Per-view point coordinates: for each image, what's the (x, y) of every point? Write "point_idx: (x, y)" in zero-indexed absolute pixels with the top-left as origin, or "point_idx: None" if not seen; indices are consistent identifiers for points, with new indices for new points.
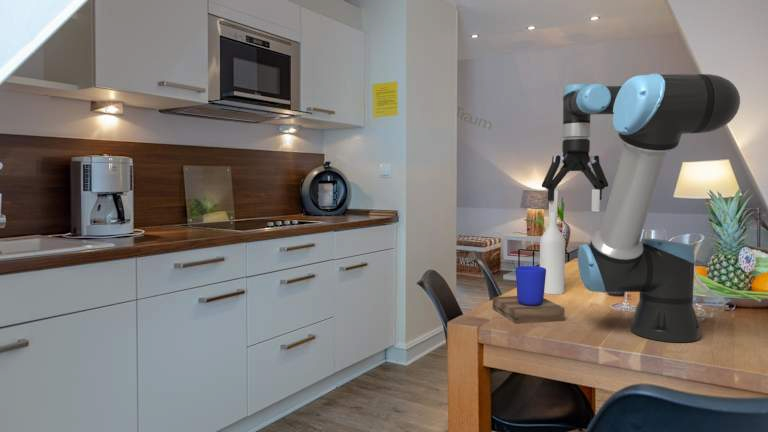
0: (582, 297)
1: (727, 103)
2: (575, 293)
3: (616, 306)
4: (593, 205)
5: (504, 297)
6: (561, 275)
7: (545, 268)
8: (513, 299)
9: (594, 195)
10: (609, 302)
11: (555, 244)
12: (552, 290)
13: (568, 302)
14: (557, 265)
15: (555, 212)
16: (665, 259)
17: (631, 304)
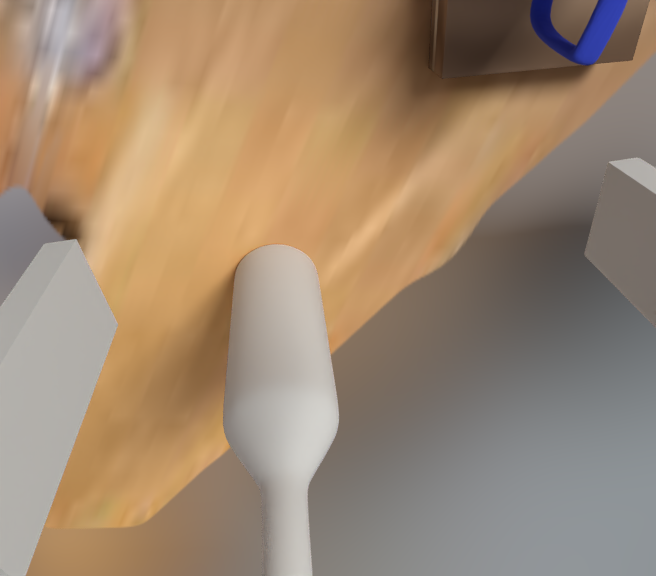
0: (194, 197)
1: None
2: (199, 256)
3: (101, 32)
4: (85, 343)
5: None
6: (255, 286)
7: (317, 312)
8: (582, 3)
9: (26, 443)
10: (111, 108)
11: (289, 374)
12: (289, 252)
13: (278, 125)
14: (275, 308)
15: (631, 159)
16: None
17: (23, 61)
